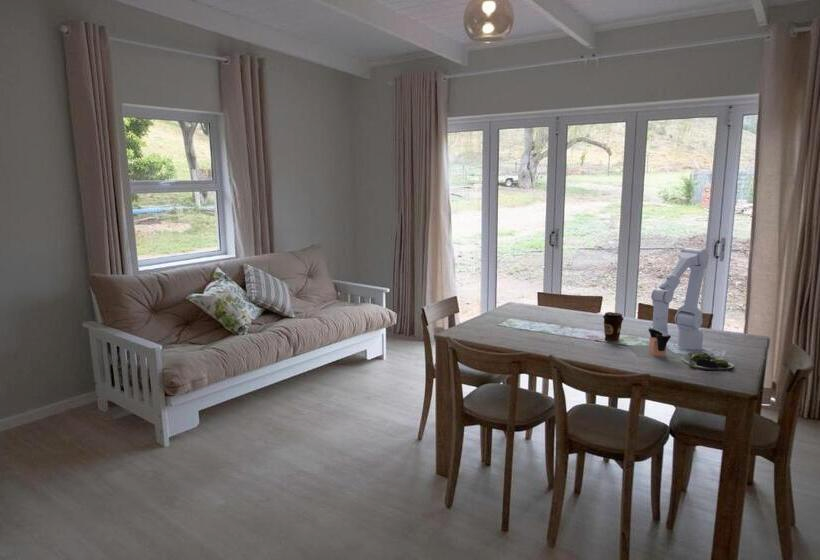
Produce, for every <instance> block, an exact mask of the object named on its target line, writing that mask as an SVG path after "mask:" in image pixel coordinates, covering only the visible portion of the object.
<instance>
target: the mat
mask: <svg viewBox="0 0 820 560" xmlns="http://www.w3.org/2000/svg"><path fill="white" fill-rule="evenodd" d="M626 346H627V348H628V349H629V350H630V351H631V352H632V353H633V354H634V355H635V356H636V357H638V358H664V359H665V358H666V359H667V358H669V359H670V358H671V359H673V358H674V359H675V358H676V359H680V358H681V357H680V356H679V355H677V354H676V353H675V352H674V351H673V350H671V348H669V347H668V346H666V356H653V355H651V354H650V353H649V344H648V345H644V344H626Z"/></svg>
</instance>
